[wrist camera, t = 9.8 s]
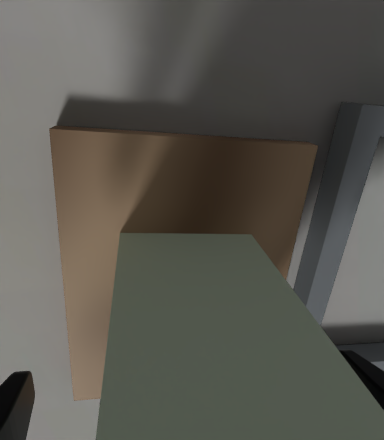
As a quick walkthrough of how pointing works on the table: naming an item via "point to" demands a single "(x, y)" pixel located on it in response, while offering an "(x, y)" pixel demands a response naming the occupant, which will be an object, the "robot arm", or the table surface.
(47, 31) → the table surface
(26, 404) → the robot arm
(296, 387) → the box
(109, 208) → the walnut pad
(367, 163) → the bin rim
